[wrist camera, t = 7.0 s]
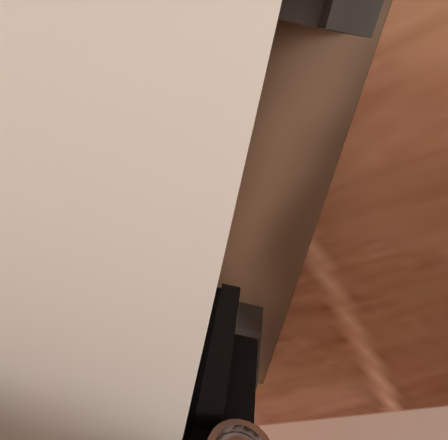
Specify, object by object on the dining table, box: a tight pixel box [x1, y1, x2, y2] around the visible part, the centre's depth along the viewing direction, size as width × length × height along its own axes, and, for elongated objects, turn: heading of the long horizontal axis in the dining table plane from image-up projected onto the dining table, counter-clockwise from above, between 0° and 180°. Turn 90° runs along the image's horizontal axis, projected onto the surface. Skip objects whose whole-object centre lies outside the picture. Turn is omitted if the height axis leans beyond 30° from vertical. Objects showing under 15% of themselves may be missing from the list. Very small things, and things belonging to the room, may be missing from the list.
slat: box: [0, 0, 282, 440], centre depth 10 cm, size 22×4×6 cm, turn 169°
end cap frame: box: [217, 0, 392, 387], centre depth 20 cm, size 12×29×8 cm, turn 169°
